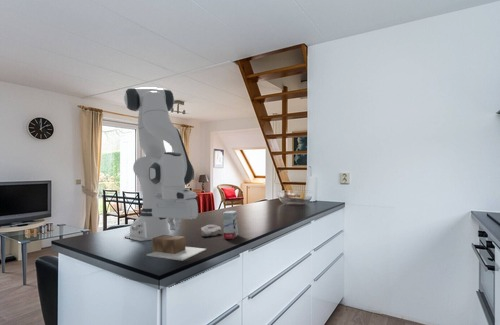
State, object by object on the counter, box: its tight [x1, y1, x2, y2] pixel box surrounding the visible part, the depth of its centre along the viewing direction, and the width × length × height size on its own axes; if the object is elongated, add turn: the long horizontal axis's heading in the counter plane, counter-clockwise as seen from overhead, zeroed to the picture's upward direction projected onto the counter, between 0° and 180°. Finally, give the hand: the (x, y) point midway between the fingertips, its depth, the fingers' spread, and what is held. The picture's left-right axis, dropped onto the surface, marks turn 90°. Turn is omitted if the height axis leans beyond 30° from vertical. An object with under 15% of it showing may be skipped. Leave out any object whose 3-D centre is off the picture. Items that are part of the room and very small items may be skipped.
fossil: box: [200, 224, 222, 237], centre depth 133 cm, size 9×6×10 cm
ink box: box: [222, 210, 239, 240], centre depth 127 cm, size 9×5×12 cm, turn 168°
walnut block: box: [151, 235, 186, 254], centre depth 106 cm, size 5×6×11 cm
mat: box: [146, 246, 207, 262], centre depth 104 cm, size 17×14×1 cm
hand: (174, 229), depth 105 cm, fingers closed
